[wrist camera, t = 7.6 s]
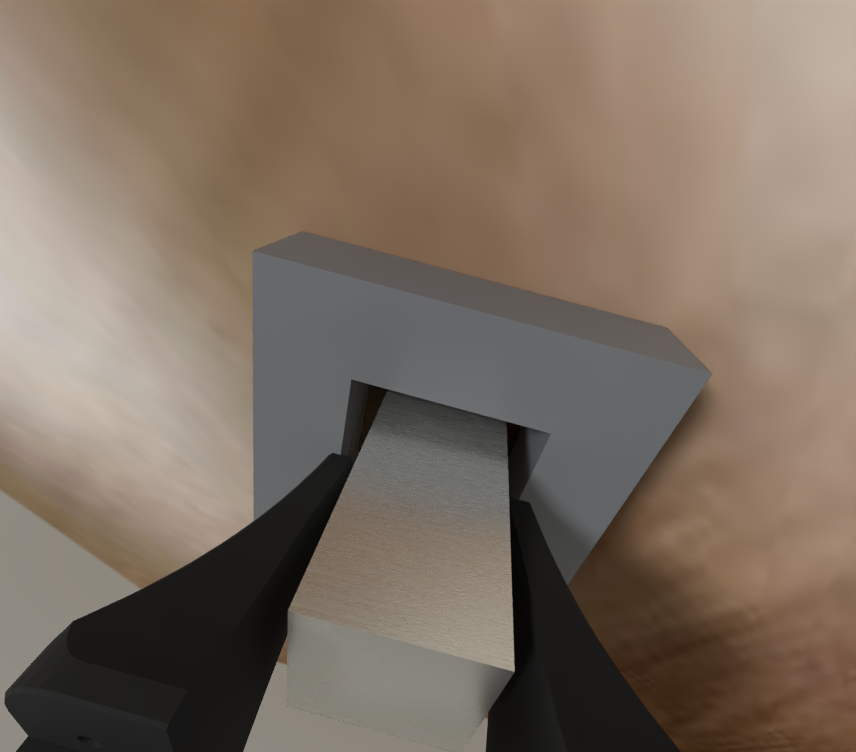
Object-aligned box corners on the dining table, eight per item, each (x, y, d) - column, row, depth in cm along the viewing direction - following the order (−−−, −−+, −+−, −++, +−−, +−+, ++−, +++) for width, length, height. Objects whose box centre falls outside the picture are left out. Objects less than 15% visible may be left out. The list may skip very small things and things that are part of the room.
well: (667, 328, 13) (712, 373, 10) (534, 559, 19) (540, 625, 16) (301, 231, 13) (252, 250, 10) (287, 490, 19) (253, 544, 16)
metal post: (505, 391, 14) (515, 672, 7) (477, 470, 16) (460, 754, 9) (399, 365, 15) (287, 611, 7) (384, 446, 17) (286, 706, 9)
